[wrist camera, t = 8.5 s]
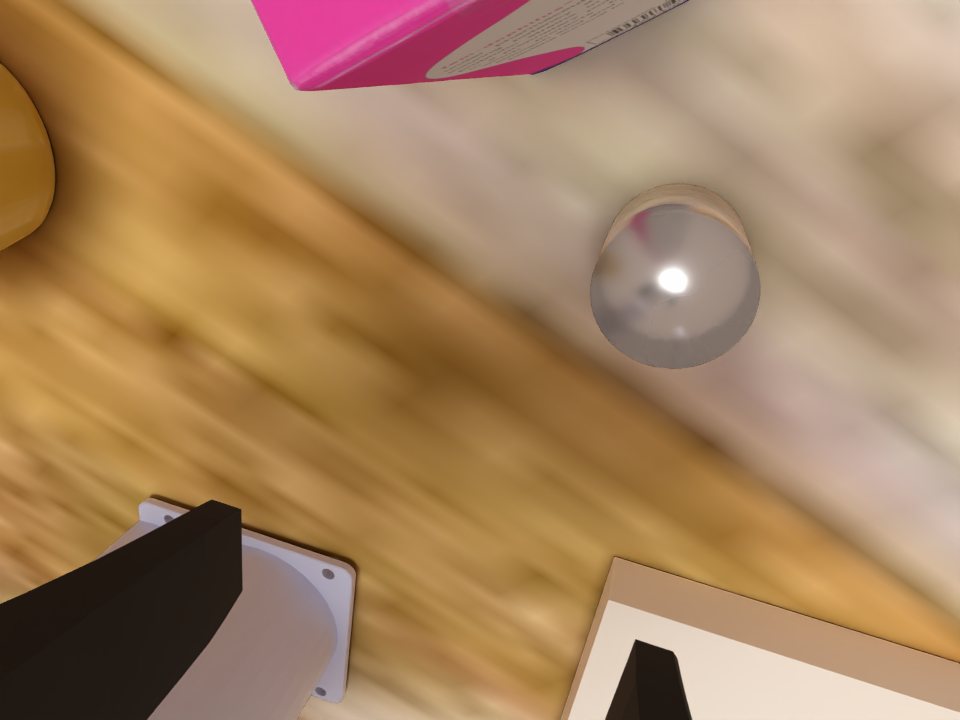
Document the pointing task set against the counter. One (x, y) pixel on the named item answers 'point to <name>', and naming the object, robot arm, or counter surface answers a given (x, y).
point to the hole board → (753, 657)
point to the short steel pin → (675, 278)
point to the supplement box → (438, 37)
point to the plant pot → (22, 163)
